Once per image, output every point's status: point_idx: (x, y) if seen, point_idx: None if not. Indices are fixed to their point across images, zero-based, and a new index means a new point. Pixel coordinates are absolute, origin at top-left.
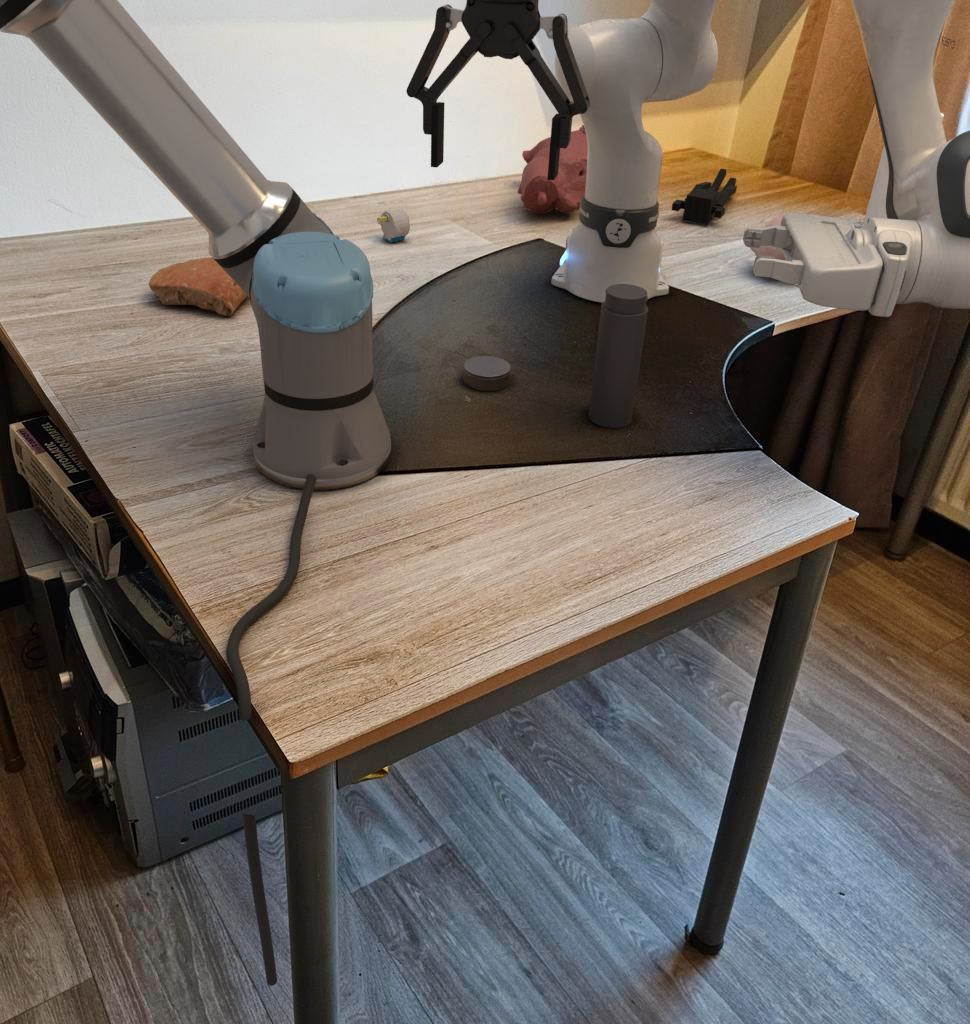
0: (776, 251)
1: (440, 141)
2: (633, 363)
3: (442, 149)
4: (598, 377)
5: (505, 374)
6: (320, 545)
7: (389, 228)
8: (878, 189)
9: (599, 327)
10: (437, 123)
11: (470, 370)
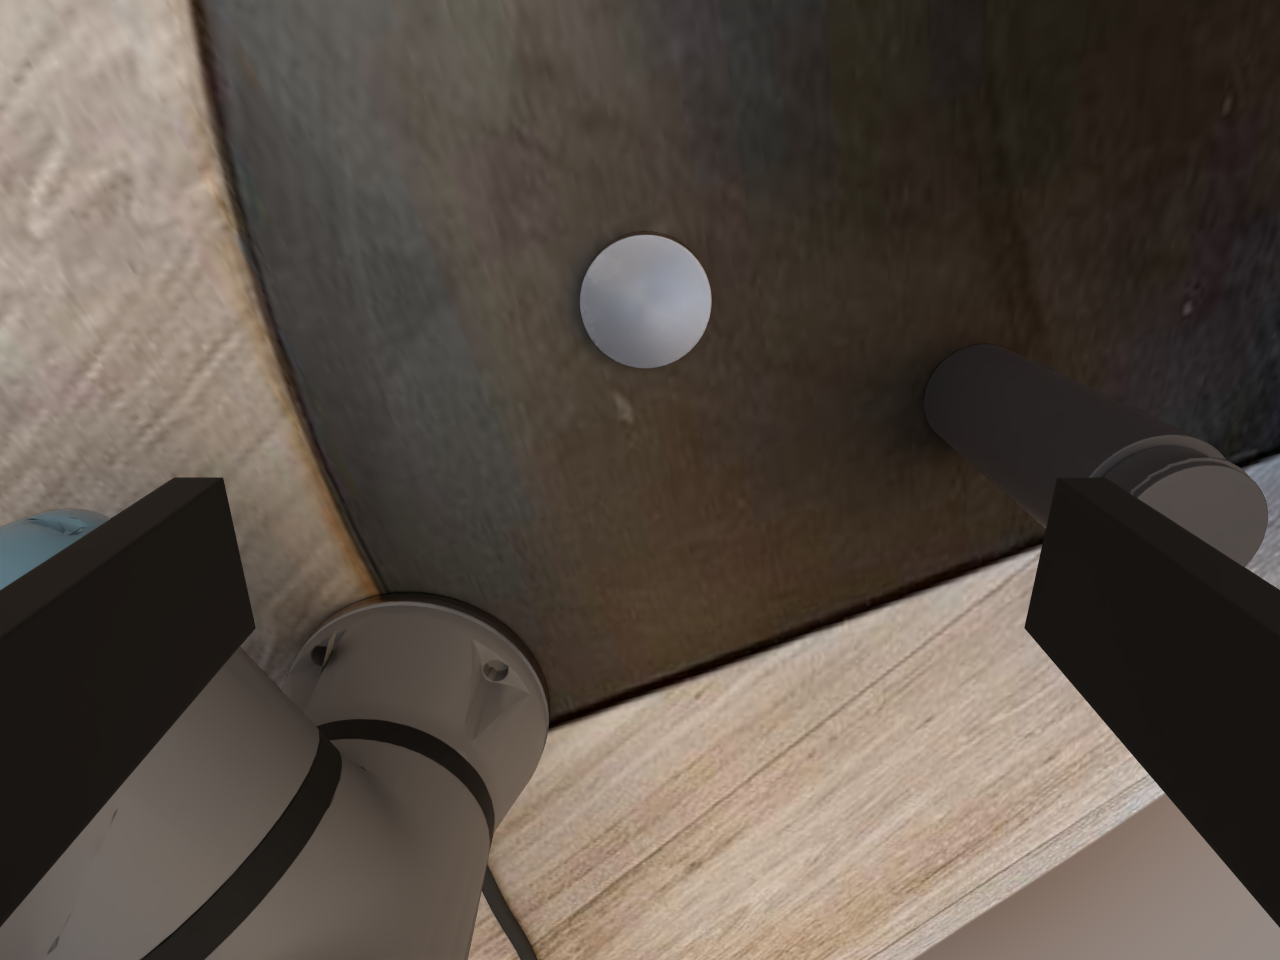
0: None
1: (142, 648)
2: None
3: (175, 551)
4: (982, 473)
5: (703, 332)
6: (536, 897)
7: None
8: None
9: (1034, 501)
10: (45, 867)
11: (608, 347)
